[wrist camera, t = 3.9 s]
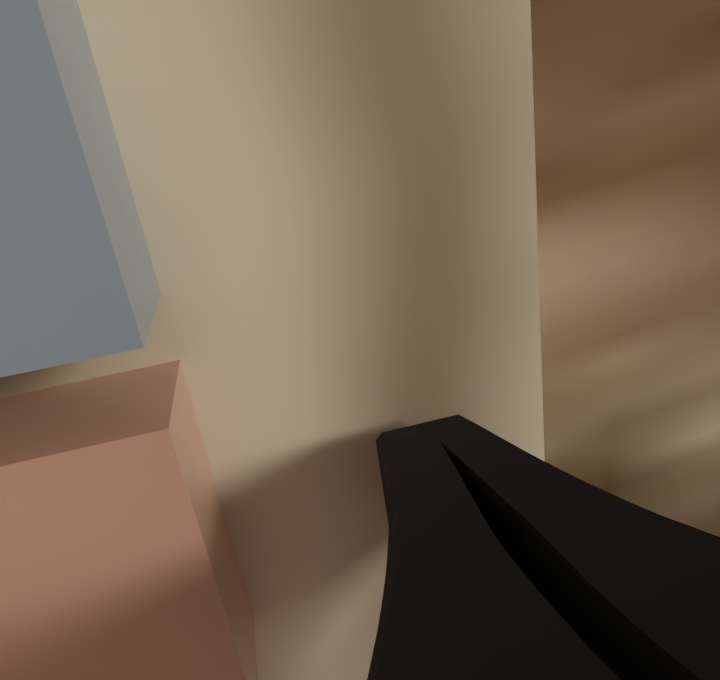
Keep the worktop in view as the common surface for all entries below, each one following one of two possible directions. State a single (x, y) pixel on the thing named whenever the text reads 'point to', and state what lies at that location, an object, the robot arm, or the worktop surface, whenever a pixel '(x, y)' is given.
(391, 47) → the birch board
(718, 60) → the worktop surface
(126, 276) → the slate tile
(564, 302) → the worktop surface
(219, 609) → the terracotta tile
